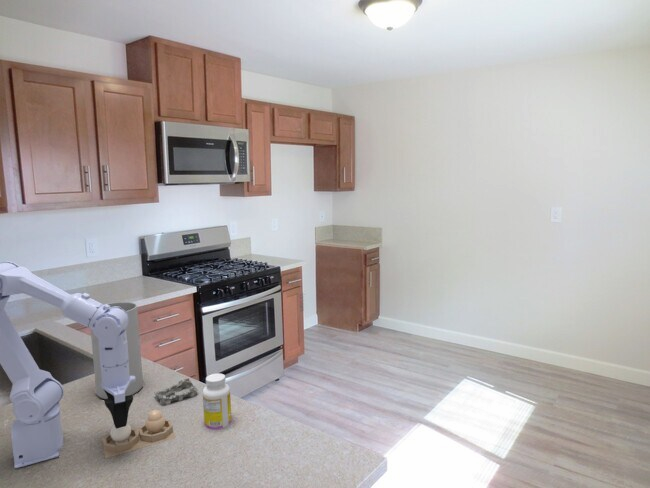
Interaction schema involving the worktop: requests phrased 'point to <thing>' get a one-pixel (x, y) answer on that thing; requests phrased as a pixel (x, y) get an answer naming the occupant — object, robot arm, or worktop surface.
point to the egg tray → (137, 440)
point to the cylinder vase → (133, 351)
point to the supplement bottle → (216, 402)
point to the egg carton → (178, 387)
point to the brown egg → (155, 422)
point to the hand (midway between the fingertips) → (119, 418)
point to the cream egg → (120, 434)
